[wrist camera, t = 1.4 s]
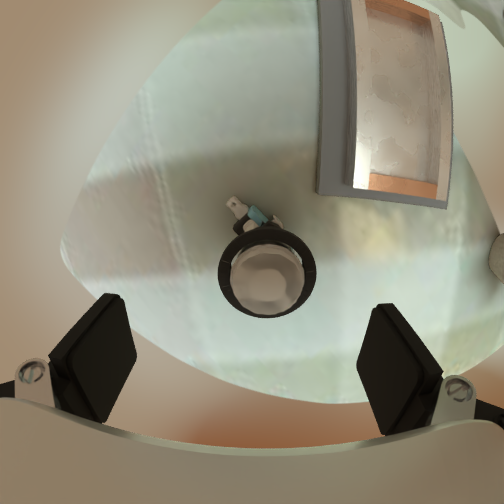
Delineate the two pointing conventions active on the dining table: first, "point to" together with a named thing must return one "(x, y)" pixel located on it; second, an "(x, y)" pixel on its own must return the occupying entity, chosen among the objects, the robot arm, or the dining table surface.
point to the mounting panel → (346, 113)
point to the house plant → (497, 257)
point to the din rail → (397, 99)
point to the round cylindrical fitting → (264, 266)
